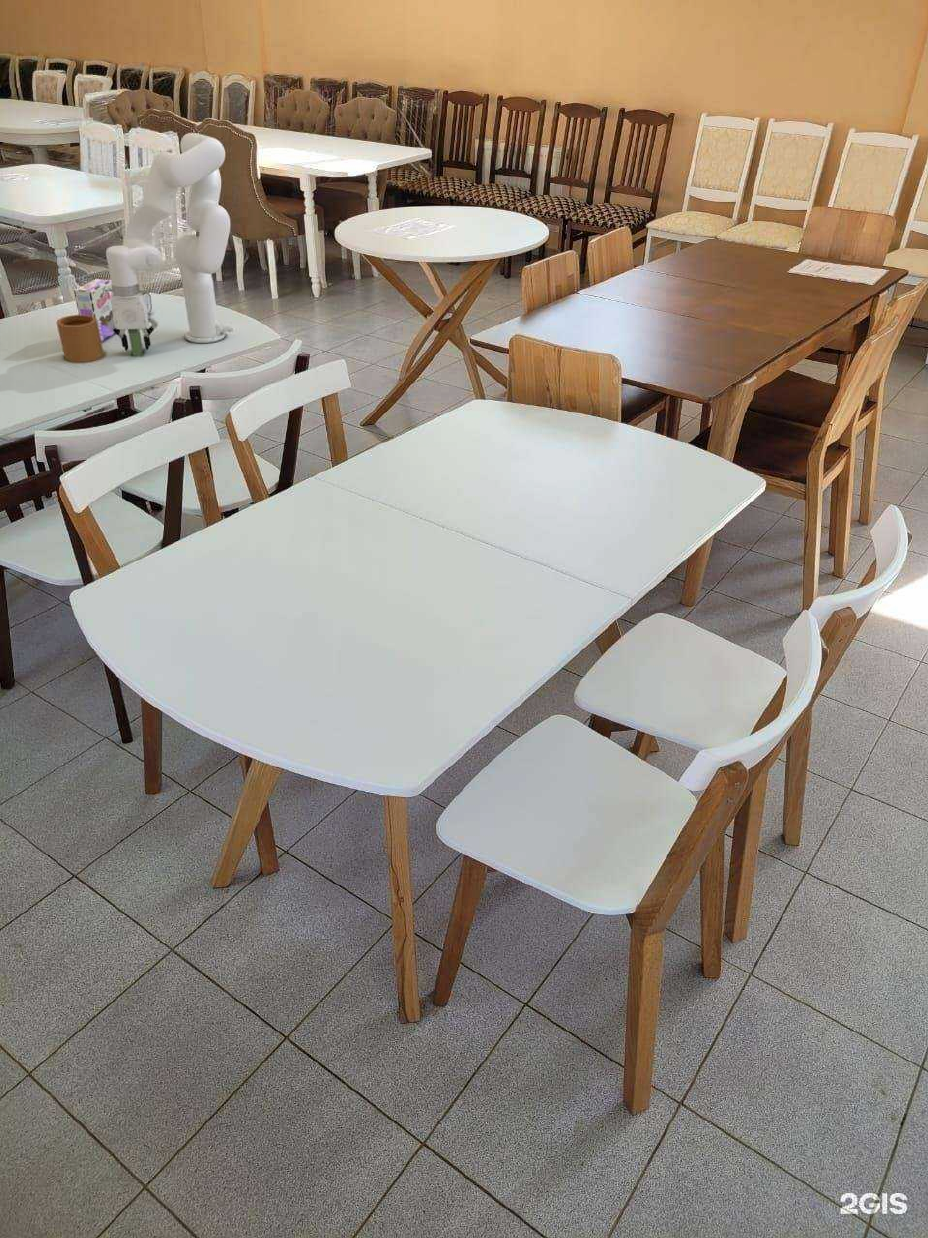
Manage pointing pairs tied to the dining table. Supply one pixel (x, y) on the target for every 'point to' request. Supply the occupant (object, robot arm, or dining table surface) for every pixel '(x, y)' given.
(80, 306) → the candy box
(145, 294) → the tin
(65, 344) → the jar
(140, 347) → the block
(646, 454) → the dining table surface
